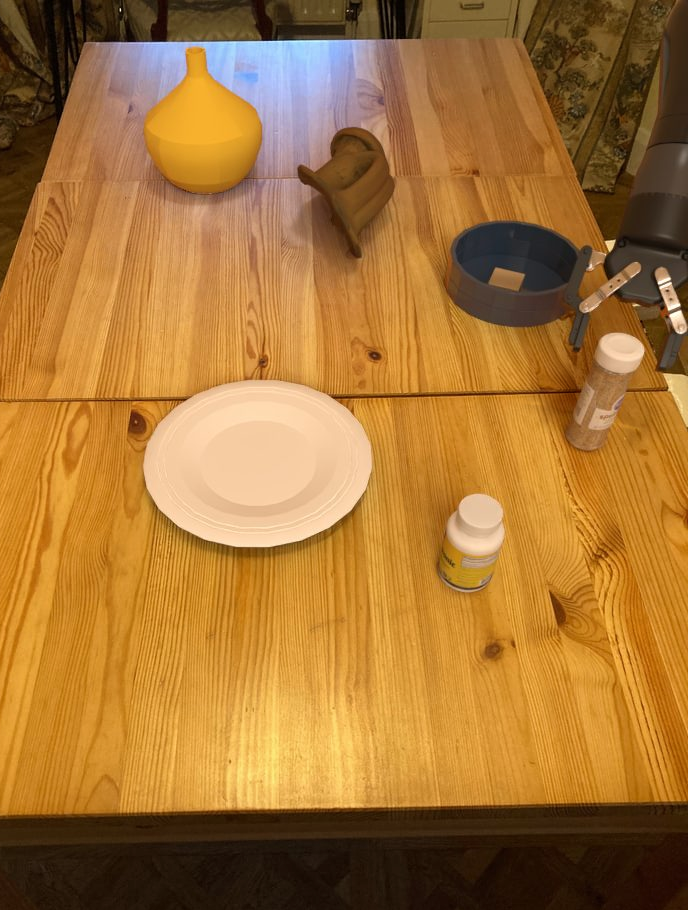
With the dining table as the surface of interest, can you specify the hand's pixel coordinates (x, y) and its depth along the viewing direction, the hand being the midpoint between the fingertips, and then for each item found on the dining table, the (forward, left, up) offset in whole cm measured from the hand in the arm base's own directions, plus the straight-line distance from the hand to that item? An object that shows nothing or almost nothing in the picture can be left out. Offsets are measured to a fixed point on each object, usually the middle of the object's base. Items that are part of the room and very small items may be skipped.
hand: (617, 361), depth 80 cm
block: (+6, -24, -11) cm, 27 cm away
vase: (+48, -58, -11) cm, 77 cm away
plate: (+37, +5, -11) cm, 39 cm away
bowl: (+4, -28, -11) cm, 31 cm away
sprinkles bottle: (0, 0, -11) cm, 11 cm away
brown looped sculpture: (+26, -45, -11) cm, 53 cm away
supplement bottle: (+16, +19, -11) cm, 27 cm away
